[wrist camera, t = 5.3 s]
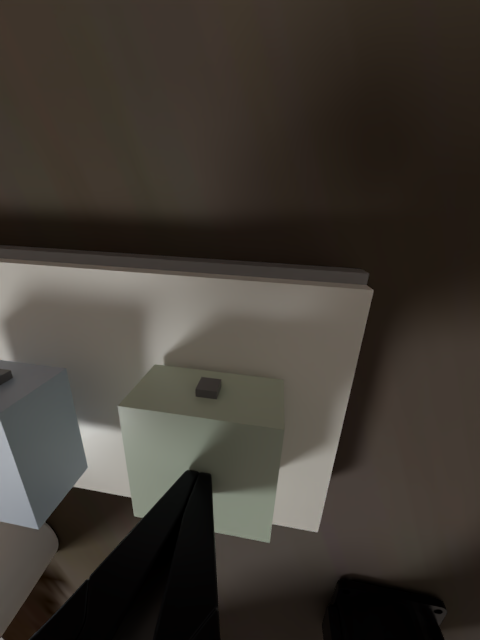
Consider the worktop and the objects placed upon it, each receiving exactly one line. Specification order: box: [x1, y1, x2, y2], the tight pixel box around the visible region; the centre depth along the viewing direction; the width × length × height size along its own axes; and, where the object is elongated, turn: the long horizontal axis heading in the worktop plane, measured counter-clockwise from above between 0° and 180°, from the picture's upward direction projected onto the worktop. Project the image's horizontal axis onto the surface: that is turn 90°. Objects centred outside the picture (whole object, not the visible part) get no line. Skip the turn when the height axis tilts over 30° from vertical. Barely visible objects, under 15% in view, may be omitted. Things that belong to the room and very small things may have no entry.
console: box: [0, 245, 374, 532], centre depth 13 cm, size 26×12×2 cm, turn 87°
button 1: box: [118, 364, 285, 543], centre depth 10 cm, size 5×5×2 cm
